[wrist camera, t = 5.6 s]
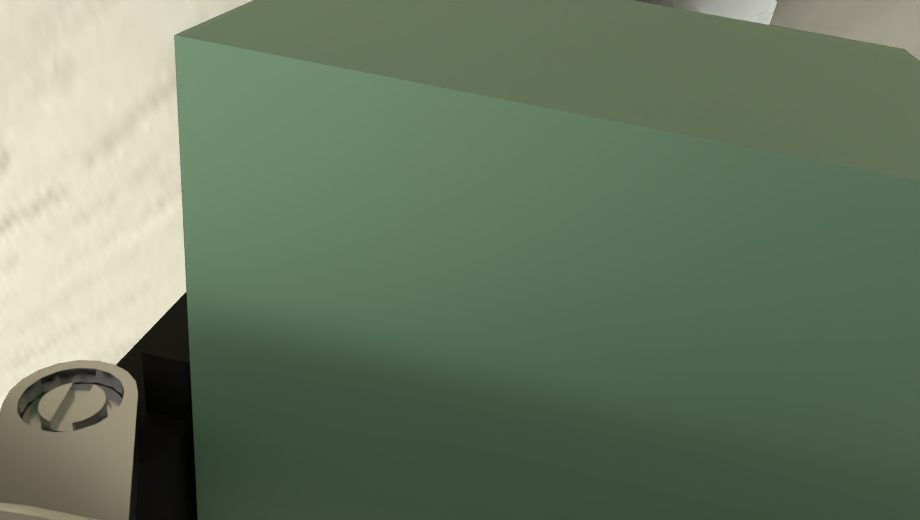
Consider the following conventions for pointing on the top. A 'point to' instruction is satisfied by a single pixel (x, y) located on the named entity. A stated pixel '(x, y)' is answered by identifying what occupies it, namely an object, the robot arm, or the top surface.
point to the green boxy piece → (548, 264)
